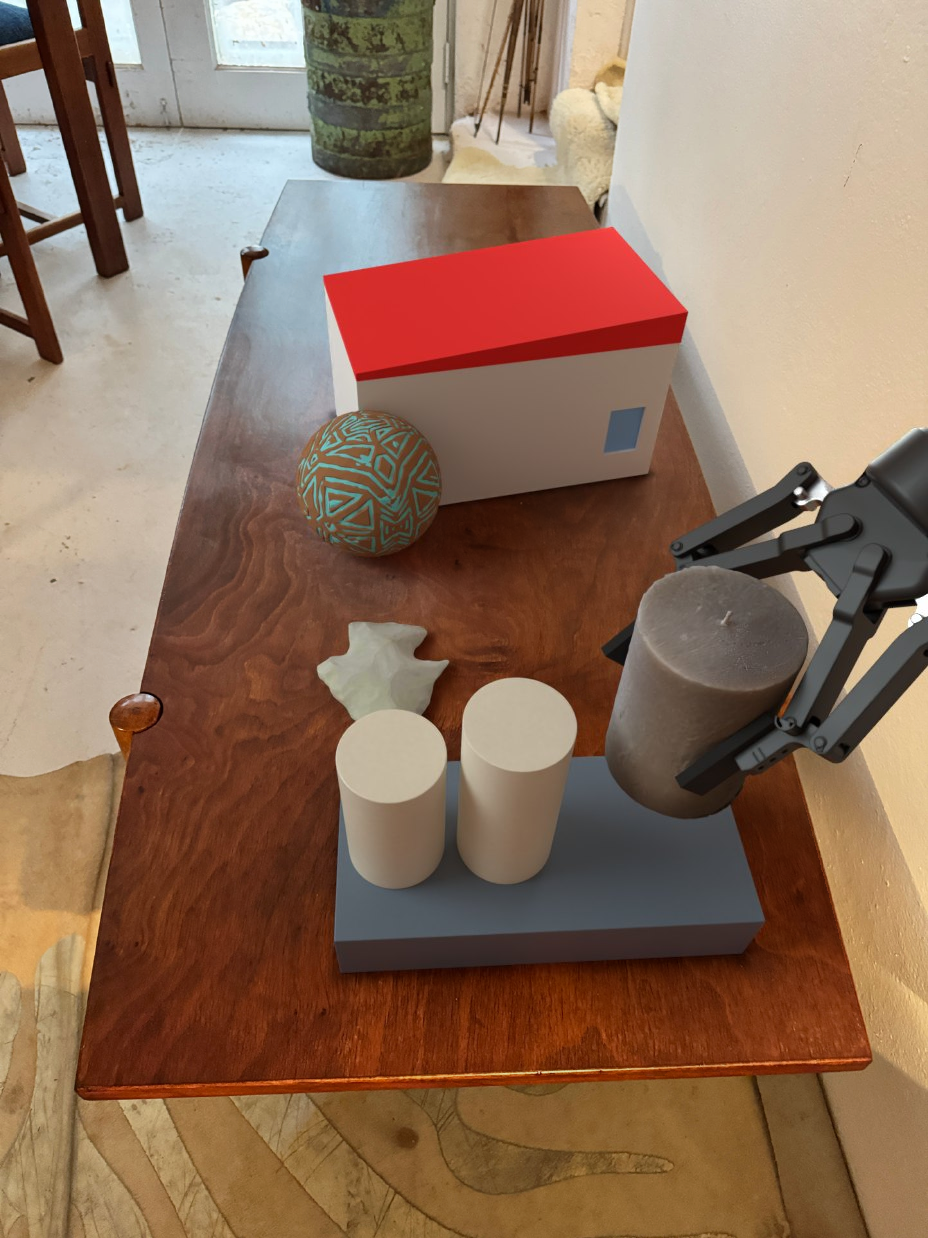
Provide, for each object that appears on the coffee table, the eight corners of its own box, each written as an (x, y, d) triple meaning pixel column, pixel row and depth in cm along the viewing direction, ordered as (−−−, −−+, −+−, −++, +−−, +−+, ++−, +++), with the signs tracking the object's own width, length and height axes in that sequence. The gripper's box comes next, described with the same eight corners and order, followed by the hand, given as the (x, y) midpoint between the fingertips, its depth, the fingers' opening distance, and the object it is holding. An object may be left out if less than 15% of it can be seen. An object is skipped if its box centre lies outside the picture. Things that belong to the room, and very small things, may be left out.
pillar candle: (768, 808, 55) (852, 663, 44) (626, 831, 54) (676, 687, 43) (712, 692, 62) (773, 540, 51) (584, 709, 60) (618, 557, 49)
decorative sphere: (332, 603, 86) (317, 488, 75) (286, 515, 95) (267, 400, 84) (463, 562, 91) (468, 447, 80) (408, 481, 100) (405, 368, 89)
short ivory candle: (464, 846, 62) (470, 757, 53) (391, 909, 59) (384, 824, 50) (402, 785, 65) (397, 691, 56) (329, 841, 62) (312, 750, 53)
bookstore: (651, 473, 102) (690, 311, 87) (366, 516, 95) (354, 349, 80) (589, 380, 116) (614, 226, 100) (336, 412, 109) (320, 252, 93)
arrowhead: (318, 625, 83) (313, 758, 73) (320, 602, 80) (314, 736, 70) (443, 632, 85) (454, 761, 75) (448, 609, 82) (460, 740, 73)
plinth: (697, 790, 73) (714, 752, 68) (742, 954, 63) (766, 921, 59) (347, 803, 71) (341, 764, 66) (340, 973, 62) (333, 941, 57)
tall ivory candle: (570, 842, 63) (601, 725, 51) (504, 904, 59) (521, 793, 48) (503, 781, 66) (518, 659, 55) (437, 837, 62) (438, 719, 51)
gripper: (1153, 645, 40) (769, 886, 48) (866, 395, 54) (606, 613, 62) (1136, 590, 35) (710, 870, 43) (825, 329, 49) (547, 577, 57)
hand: (648, 718), depth 53 cm, fingers closed on pillar candle, 10 cm apart
